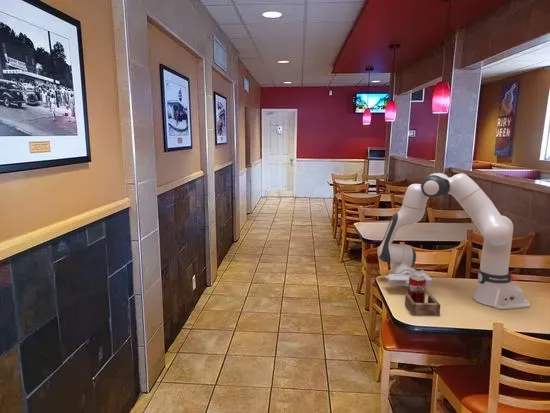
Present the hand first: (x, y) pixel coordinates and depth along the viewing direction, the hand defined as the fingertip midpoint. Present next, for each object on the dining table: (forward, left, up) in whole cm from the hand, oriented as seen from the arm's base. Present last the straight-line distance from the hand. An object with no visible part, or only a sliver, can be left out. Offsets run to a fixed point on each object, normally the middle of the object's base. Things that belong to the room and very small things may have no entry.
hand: (414, 286), depth 176 cm
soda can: (0, +4, -6) cm, 7 cm away
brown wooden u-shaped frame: (0, +11, -6) cm, 13 cm away
